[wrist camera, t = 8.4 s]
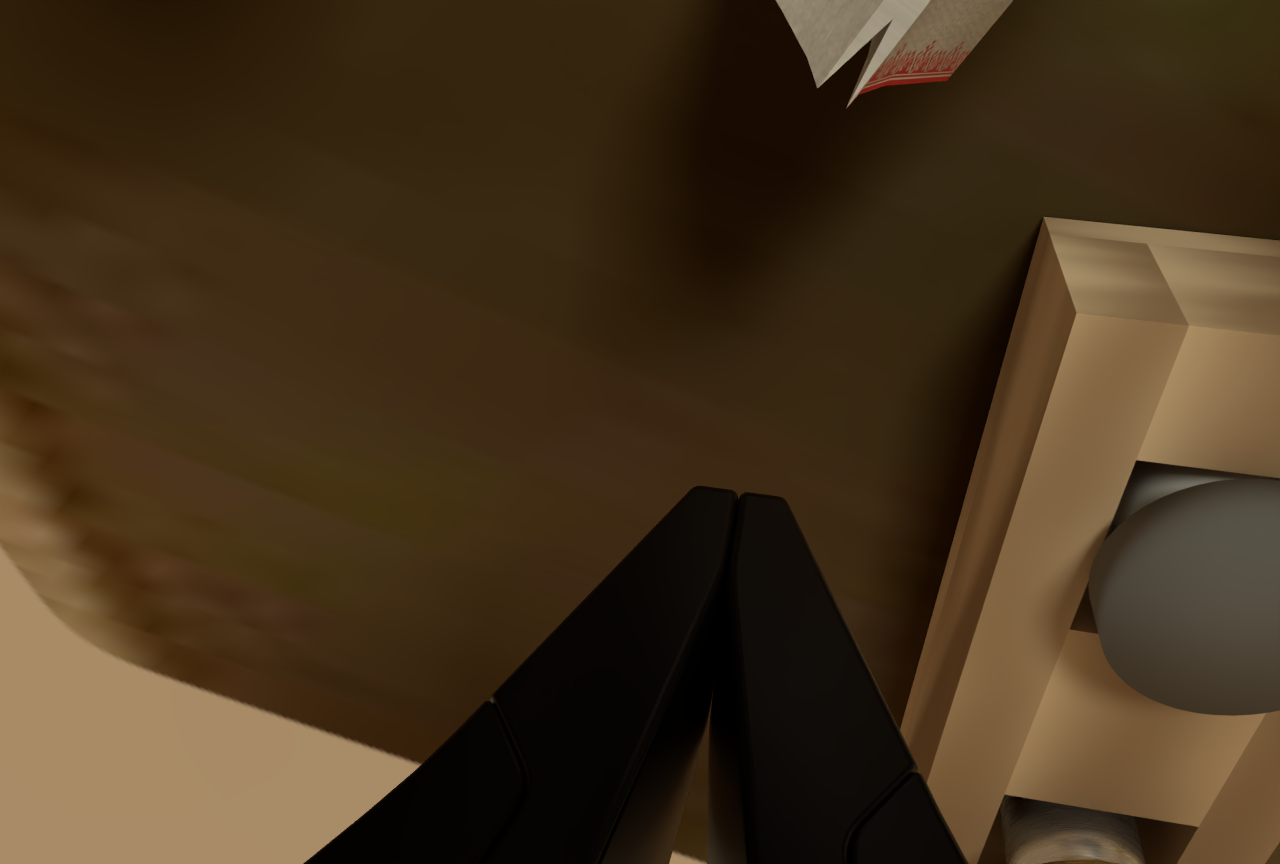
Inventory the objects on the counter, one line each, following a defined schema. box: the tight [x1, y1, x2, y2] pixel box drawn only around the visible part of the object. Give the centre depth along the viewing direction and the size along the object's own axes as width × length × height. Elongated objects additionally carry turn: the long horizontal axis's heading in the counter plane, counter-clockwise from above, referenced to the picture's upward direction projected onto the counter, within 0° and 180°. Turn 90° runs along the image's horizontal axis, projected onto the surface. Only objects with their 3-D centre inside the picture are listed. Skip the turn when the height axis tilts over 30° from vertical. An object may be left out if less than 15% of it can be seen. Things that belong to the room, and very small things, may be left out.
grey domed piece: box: [1088, 460, 1280, 716], centre depth 20 cm, size 5×5×4 cm
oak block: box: [900, 217, 1280, 864], centre depth 24 cm, size 8×20×4 cm, turn 178°
